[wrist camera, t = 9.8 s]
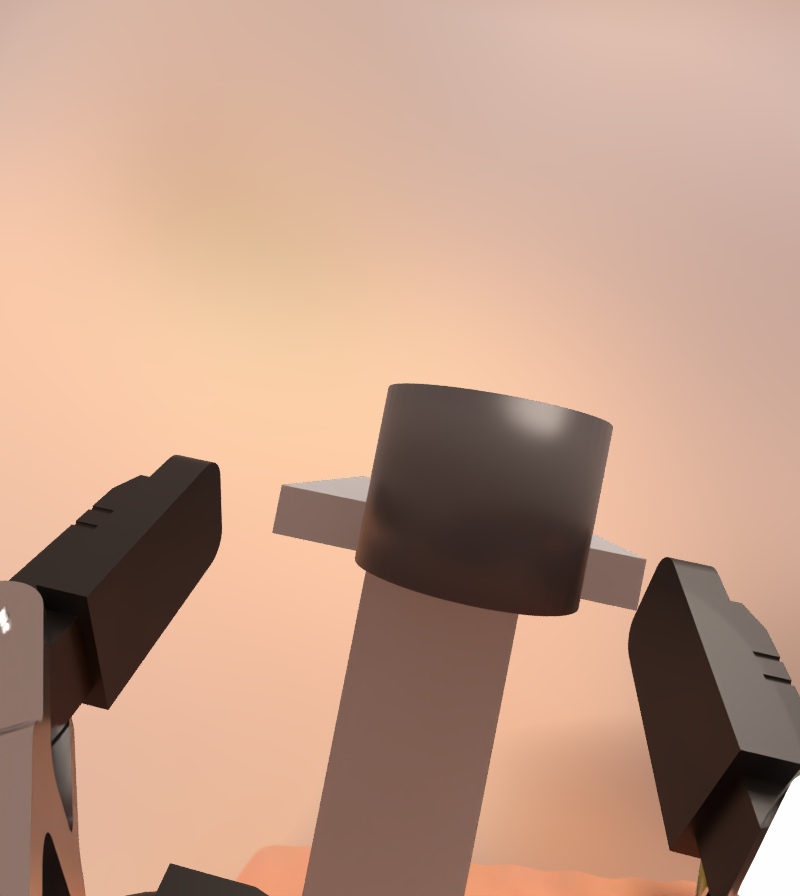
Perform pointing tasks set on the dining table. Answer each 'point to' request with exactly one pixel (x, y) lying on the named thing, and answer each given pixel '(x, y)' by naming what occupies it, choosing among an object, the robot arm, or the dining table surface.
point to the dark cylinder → (484, 498)
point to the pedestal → (414, 714)
